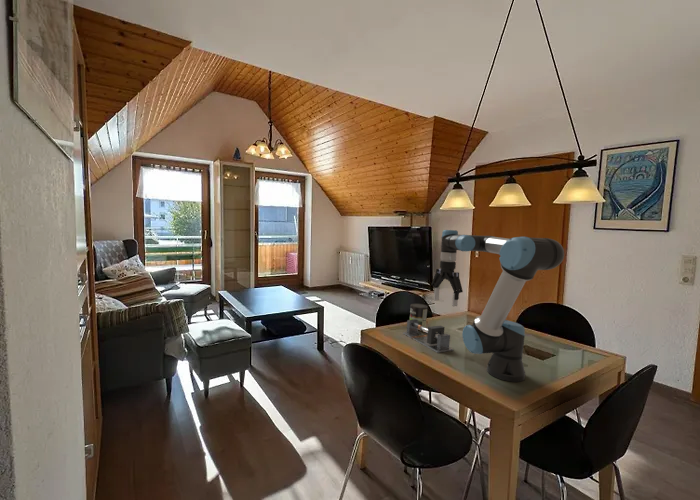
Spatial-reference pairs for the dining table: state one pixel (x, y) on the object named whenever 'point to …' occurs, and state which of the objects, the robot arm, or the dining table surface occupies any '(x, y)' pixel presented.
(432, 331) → the collar
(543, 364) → the dining table surface
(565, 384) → the dining table surface
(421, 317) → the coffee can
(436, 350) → the rail
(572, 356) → the dining table surface
